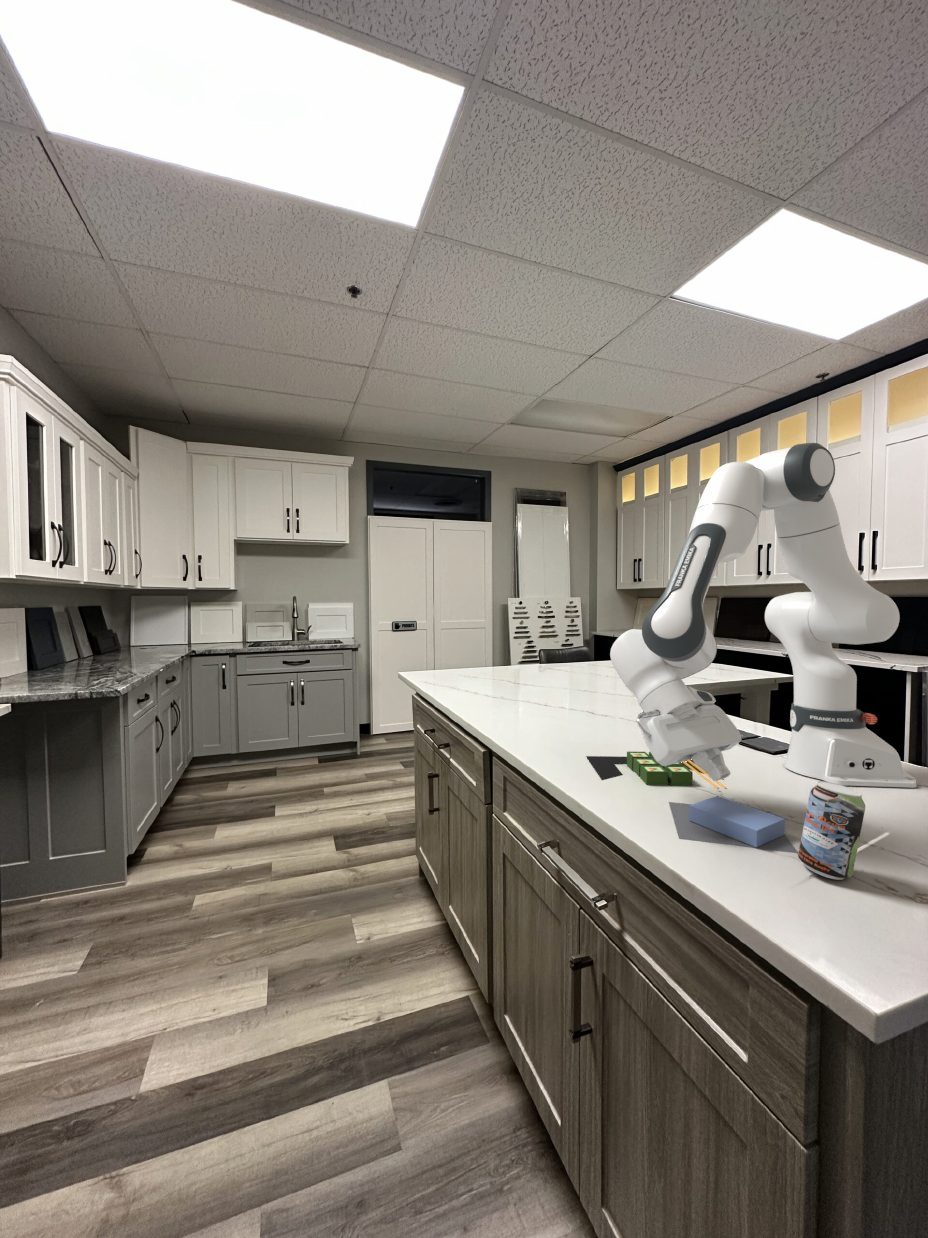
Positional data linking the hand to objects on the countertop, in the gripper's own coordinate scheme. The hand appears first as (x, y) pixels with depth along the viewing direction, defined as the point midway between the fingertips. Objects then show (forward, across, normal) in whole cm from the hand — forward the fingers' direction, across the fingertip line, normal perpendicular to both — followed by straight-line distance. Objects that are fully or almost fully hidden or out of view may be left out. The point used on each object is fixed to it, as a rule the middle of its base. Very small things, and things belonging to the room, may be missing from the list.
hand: (722, 778), depth 83 cm
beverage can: (+17, -2, -6) cm, 18 cm away
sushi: (-9, +12, +21) cm, 26 cm away
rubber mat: (+6, 0, +5) cm, 8 cm away
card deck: (+2, 0, +7) cm, 7 cm away
